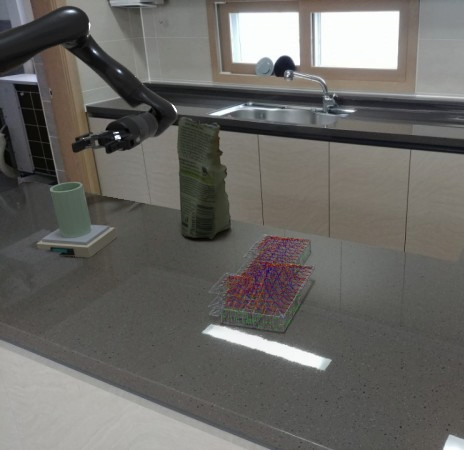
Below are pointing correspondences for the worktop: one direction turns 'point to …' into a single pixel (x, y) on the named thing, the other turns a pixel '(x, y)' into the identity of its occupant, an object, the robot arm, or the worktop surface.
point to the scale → (79, 242)
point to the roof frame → (276, 267)
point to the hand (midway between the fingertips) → (90, 149)
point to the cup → (71, 209)
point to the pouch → (201, 180)
